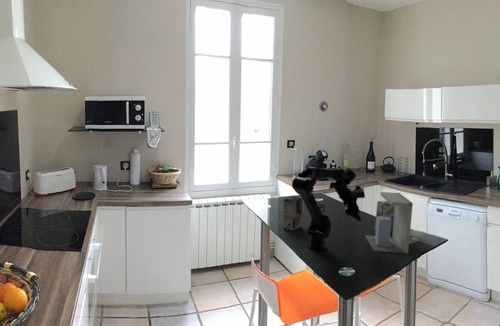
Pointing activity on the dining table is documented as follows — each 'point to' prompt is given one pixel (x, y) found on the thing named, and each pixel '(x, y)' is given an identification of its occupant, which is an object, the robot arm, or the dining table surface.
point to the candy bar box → (385, 211)
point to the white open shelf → (396, 225)
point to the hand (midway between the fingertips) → (359, 216)
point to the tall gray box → (383, 230)
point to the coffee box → (292, 213)
